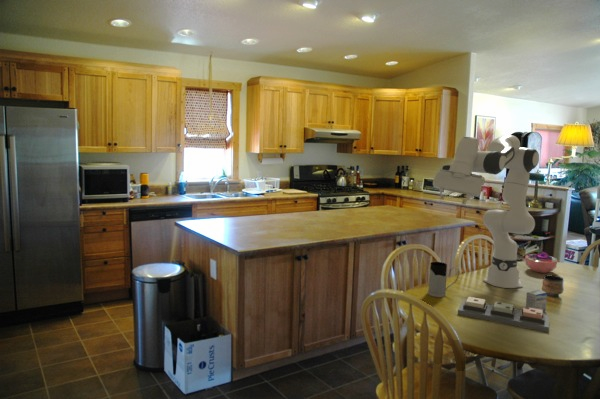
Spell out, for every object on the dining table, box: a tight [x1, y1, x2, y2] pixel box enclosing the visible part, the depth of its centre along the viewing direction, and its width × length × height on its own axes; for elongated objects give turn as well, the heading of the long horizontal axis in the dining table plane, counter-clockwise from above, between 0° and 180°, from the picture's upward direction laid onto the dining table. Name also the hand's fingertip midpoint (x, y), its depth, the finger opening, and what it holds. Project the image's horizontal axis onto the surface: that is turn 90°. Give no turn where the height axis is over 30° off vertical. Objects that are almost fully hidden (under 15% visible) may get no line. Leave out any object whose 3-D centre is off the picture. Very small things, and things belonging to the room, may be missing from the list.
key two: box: [493, 300, 514, 314], centre depth 188 cm, size 7×7×2 cm
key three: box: [522, 306, 544, 319], centre depth 182 cm, size 7×7×2 cm
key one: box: [466, 296, 486, 308], centre depth 193 cm, size 7×7×2 cm
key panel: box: [457, 298, 550, 333], centre depth 188 cm, size 14×34×4 cm, turn 61°
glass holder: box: [427, 261, 460, 298], centre depth 215 cm, size 9×14×15 cm, turn 84°
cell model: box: [524, 251, 558, 274], centre depth 259 cm, size 17×20×11 cm
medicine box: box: [525, 289, 548, 313], centre depth 196 cm, size 8×4×9 cm, turn 117°
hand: (452, 201), depth 192 cm, fingers open, 8 cm apart
